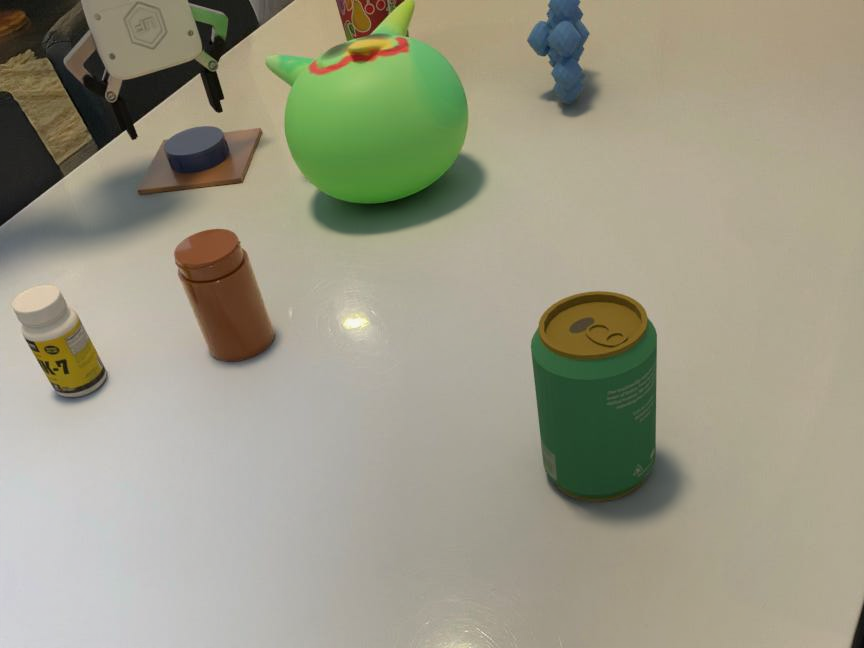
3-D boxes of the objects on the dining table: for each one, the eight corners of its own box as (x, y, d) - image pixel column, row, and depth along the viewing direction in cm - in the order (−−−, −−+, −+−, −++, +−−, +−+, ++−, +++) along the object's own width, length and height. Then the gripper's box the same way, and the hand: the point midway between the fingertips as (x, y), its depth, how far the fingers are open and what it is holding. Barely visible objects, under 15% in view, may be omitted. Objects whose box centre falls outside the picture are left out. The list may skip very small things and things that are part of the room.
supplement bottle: (44, 395, 85) (-6, 311, 78) (76, 362, 87) (30, 278, 81) (87, 402, 83) (39, 317, 77) (118, 369, 86) (75, 284, 79)
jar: (203, 364, 84) (162, 270, 77) (215, 325, 88) (178, 231, 81) (269, 357, 84) (234, 261, 77) (279, 317, 87) (247, 222, 80)
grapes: (534, 75, 112) (524, -45, 103) (592, 69, 111) (588, -53, 102) (528, 121, 105) (517, -4, 96) (591, 115, 104) (586, -12, 95)
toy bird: (325, 251, 94) (281, 91, 82) (290, 178, 104) (247, 28, 93) (498, 198, 95) (478, 34, 84) (447, 132, 106) (423, -21, 95)
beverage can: (596, 416, 73) (589, 272, 64) (678, 461, 69) (684, 313, 59) (521, 472, 70) (502, 330, 61) (602, 522, 66) (595, 378, 57)
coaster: (138, 194, 107) (136, 190, 106) (165, 143, 114) (163, 139, 114) (242, 182, 105) (241, 178, 105) (262, 132, 112) (260, 127, 112)
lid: (241, 149, 109) (235, 131, 108) (198, 178, 106) (191, 159, 105) (201, 139, 112) (195, 122, 111) (158, 166, 109) (151, 149, 108)
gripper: (27, -31, 88) (105, 158, 101) (206, -80, 91) (259, 109, 105) (15, -50, 92) (91, 133, 106) (187, -96, 96) (239, 87, 109)
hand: (175, 121), depth 105 cm, fingers open, 9 cm apart
